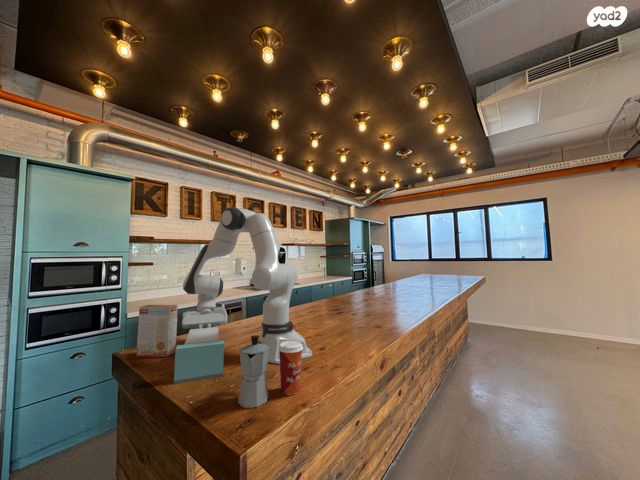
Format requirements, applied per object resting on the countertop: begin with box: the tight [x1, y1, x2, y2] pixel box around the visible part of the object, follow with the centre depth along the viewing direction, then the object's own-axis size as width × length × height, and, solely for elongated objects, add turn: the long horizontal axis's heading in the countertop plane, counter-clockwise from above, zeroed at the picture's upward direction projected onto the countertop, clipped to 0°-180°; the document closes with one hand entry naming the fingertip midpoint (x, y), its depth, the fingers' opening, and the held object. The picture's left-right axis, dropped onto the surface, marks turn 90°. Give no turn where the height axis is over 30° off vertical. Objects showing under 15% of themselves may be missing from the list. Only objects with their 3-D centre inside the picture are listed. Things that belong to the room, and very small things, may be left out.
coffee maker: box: [237, 334, 270, 409], centre depth 73 cm, size 15×9×18 cm, turn 5°
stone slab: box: [184, 326, 220, 345], centre depth 106 cm, size 12×22×4 cm, turn 23°
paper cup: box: [278, 341, 303, 395], centre depth 77 cm, size 8×8×14 cm
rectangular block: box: [173, 339, 225, 385], centre depth 103 cm, size 15×39×11 cm, turn 23°
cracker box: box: [135, 304, 179, 358], centre depth 108 cm, size 14×6×21 cm, turn 84°
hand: (204, 333), depth 117 cm, fingers closed
